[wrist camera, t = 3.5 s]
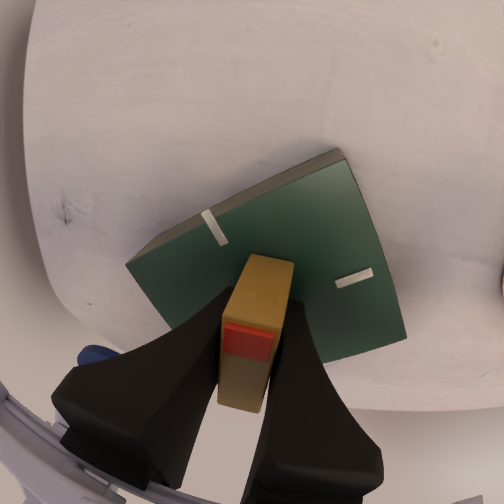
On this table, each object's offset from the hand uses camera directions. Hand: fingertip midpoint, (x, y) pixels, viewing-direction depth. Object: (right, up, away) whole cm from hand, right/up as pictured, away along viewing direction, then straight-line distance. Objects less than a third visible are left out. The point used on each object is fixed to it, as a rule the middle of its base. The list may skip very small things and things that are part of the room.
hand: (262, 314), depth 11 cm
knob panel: (+1, +2, +3) cm, 3 cm away
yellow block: (0, 0, 0) cm, 0 cm away
